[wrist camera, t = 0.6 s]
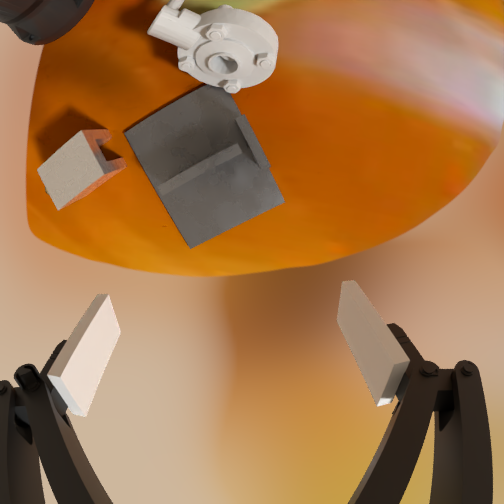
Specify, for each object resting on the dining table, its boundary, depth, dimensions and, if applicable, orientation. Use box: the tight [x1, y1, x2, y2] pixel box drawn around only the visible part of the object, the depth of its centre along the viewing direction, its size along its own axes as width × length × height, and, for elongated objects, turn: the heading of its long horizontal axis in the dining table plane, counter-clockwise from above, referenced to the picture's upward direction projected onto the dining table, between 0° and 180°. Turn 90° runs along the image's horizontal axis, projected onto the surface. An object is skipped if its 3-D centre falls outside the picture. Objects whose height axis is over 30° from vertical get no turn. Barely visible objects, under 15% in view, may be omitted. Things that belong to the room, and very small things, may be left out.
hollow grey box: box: [37, 129, 127, 210], centre depth 31 cm, size 6×8×8 cm
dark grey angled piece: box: [124, 84, 285, 249], centre depth 32 cm, size 18×14×8 cm
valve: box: [147, 0, 278, 93], centre depth 25 cm, size 10×18×15 cm
